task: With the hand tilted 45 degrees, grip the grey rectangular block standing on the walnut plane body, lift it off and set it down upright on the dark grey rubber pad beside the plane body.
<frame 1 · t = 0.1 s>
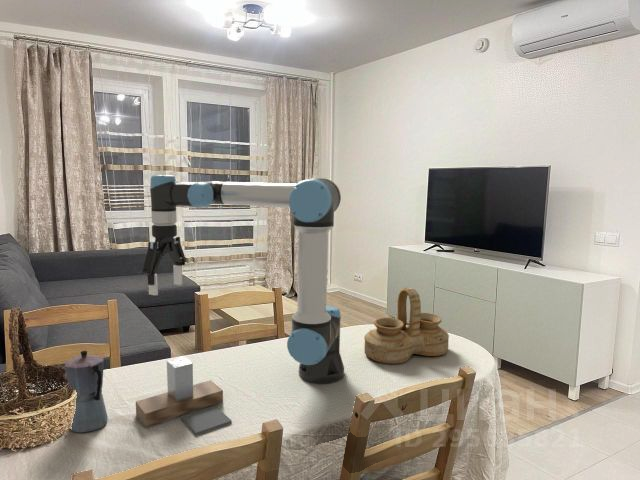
hand: (166, 289, 151), 28 cm above the table, tool pointing down, fingers open, 13 cm apart
plane body: (180, 409, 131), on the table
rubber pad: (206, 421, 125), on the table
ceramic vessel: (406, 353, 175), on the table
moka pot: (90, 425, 122), on the table
grey rectangular block: (180, 395, 130), point 4 cm above the table, touching plane body
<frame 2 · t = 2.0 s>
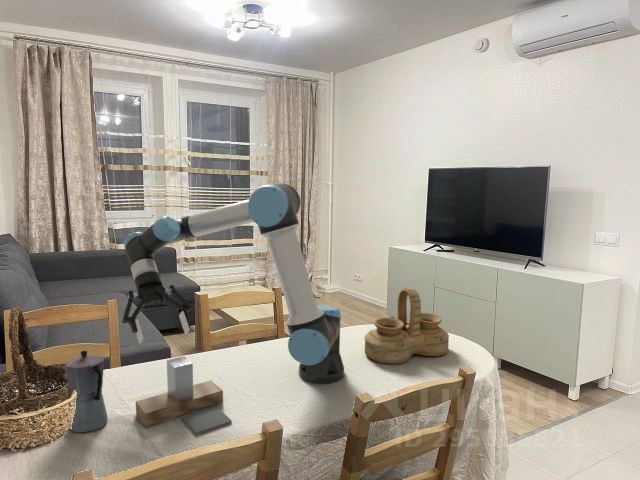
hand: (165, 336, 136), 18 cm above the table, tool tilted 45°, fingers open, 13 cm apart
nothing on the table moved.
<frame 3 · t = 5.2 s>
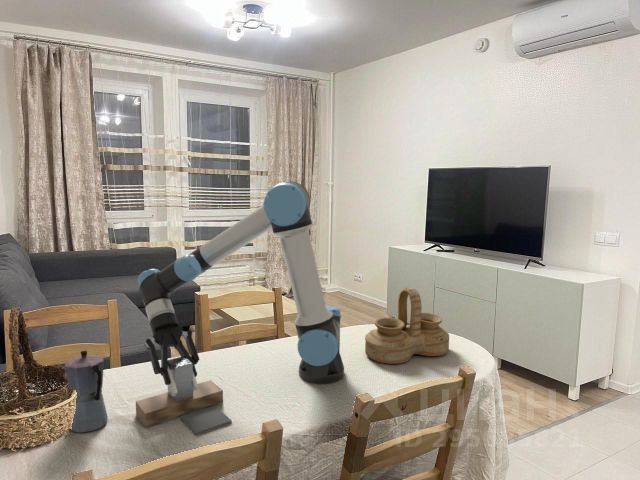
hand: (185, 391, 127), 7 cm above the table, tool tilted 45°, fingers closed on grey rectangular block, 5 cm apart
grey rectangular block: (180, 395, 130), point 4 cm above the table, touching gripper, plane body
everything else where it was.
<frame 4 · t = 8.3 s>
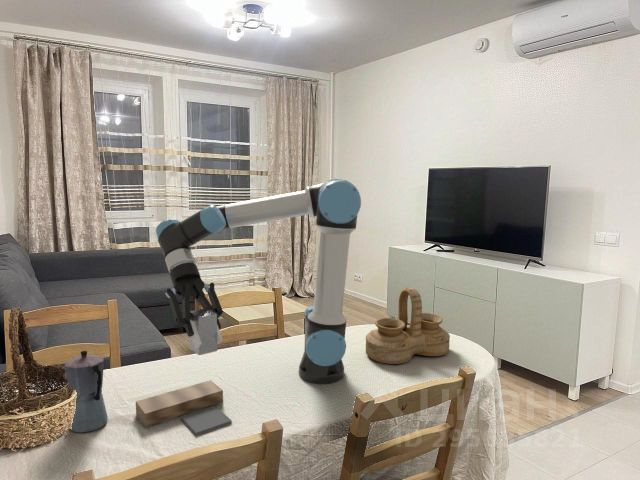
hand: (209, 343, 119), 23 cm above the table, tool tilted 45°, fingers closed on grey rectangular block, 5 cm apart
grey rectangular block: (203, 349, 122), point 20 cm above the table, touching gripper
everything else where it was.
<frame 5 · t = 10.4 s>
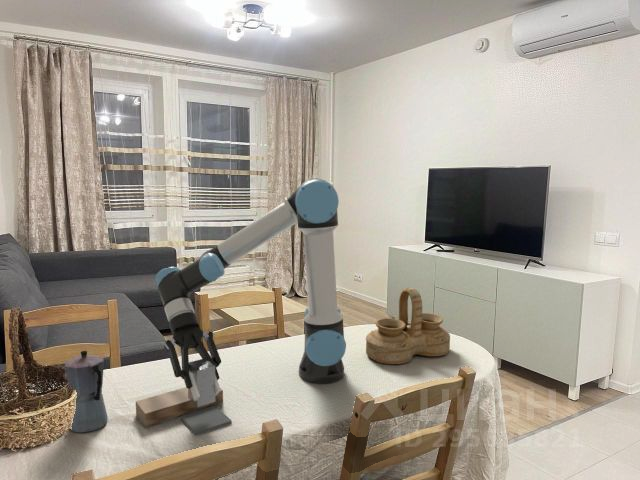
hand: (207, 395, 121), 9 cm above the table, tool tilted 45°, fingers closed on grey rectangular block, 5 cm apart
grey rectangular block: (201, 399, 124), point 6 cm above the table, touching gripper
everything else where it was.
when the fingers open (5 cm above the table, at t = 11.7 s): grey rectangular block drops 1 cm, resting on rubber pad.
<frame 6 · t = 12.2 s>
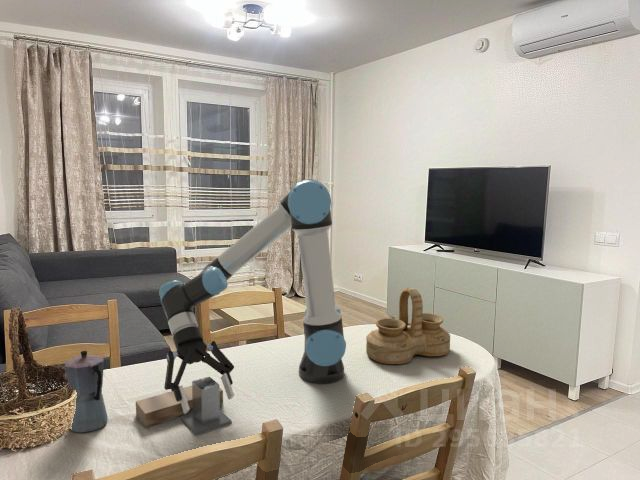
hand: (209, 404, 122), 6 cm above the table, tool tilted 45°, fingers open, 12 cm apart
grey rectangular block: (206, 418, 125), point 1 cm above the table, touching rubber pad
everything else where it was.
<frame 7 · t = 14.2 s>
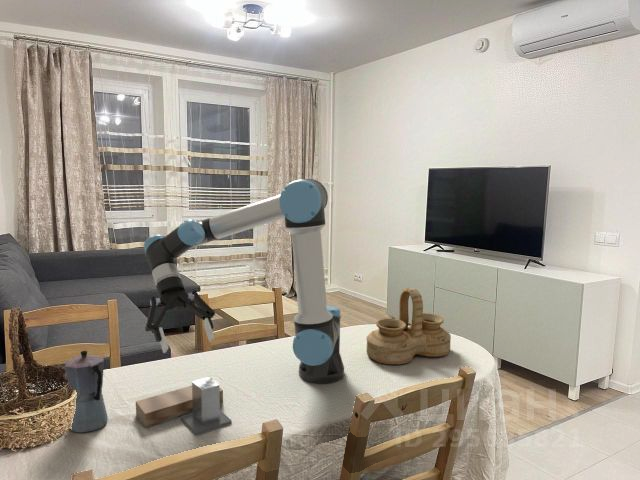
hand: (189, 345, 131), 18 cm above the table, tool tilted 45°, fingers open, 13 cm apart
nothing on the table moved.
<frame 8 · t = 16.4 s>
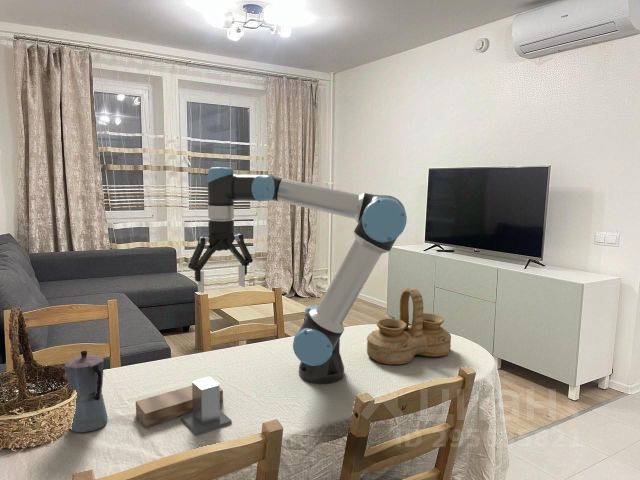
hand: (221, 288, 143), 31 cm above the table, tool pointing down, fingers open, 13 cm apart
at the end: grey rectangular block inside the target area on the rubber pad (0.1 cm from its centre), point 0.8 cm above the rubber pad's base; grey rectangular block tilted 0°; the gripper is holding nothing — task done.
